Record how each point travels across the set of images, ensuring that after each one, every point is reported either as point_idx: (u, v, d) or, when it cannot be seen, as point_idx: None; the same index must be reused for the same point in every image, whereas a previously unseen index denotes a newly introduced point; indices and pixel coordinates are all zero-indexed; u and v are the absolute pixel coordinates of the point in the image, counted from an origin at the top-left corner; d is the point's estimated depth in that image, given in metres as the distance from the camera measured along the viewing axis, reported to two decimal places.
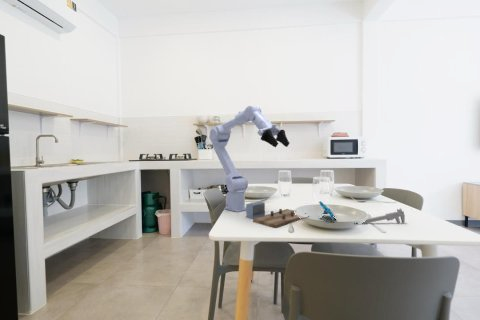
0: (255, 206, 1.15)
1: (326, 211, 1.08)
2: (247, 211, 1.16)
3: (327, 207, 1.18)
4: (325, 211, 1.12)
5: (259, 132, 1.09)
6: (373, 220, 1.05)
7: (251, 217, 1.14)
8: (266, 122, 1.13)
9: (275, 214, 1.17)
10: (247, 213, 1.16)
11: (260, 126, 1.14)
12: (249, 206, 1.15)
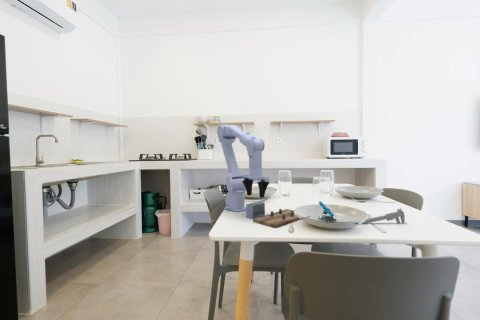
0: (255, 206, 1.15)
1: (325, 211, 1.09)
2: (247, 211, 1.16)
3: (327, 207, 1.18)
4: (325, 211, 1.12)
5: None
6: (373, 220, 1.05)
7: (251, 217, 1.14)
8: (249, 169, 1.16)
9: (275, 214, 1.17)
10: (247, 213, 1.16)
11: None
12: (249, 206, 1.15)
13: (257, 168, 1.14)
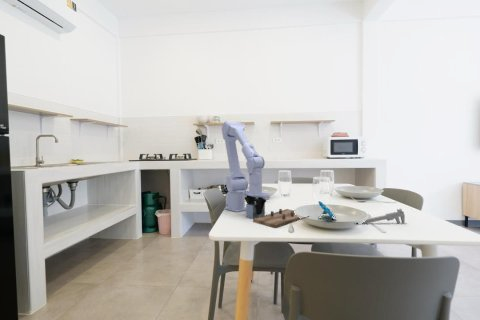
0: (255, 206, 1.15)
1: (325, 211, 1.09)
2: (247, 210, 1.16)
3: (327, 207, 1.18)
4: (324, 211, 1.13)
5: None
6: (373, 220, 1.05)
7: (251, 217, 1.14)
8: (249, 186, 1.17)
9: (275, 214, 1.17)
10: (247, 213, 1.16)
11: None
12: (249, 206, 1.15)
13: (257, 186, 1.15)
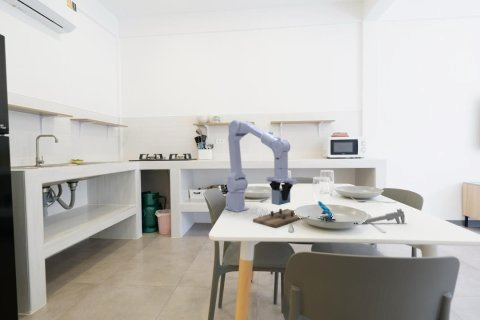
0: (281, 192, 1.10)
1: (324, 211, 1.09)
2: (273, 196, 1.11)
3: (327, 207, 1.18)
4: (324, 211, 1.13)
5: None
6: (373, 220, 1.05)
7: (277, 203, 1.10)
8: (275, 171, 1.12)
9: (275, 214, 1.17)
10: (272, 199, 1.11)
11: None
12: (275, 192, 1.10)
13: (283, 170, 1.10)
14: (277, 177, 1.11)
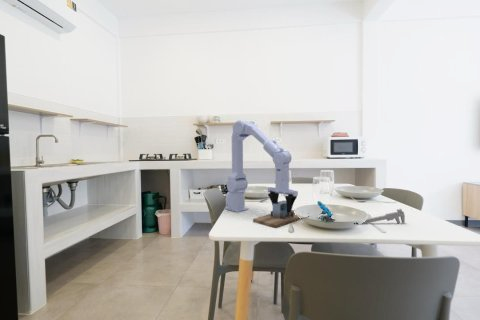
0: (282, 205, 1.10)
1: (323, 211, 1.09)
2: (274, 210, 1.11)
3: (326, 207, 1.18)
4: (323, 211, 1.13)
5: None
6: (373, 220, 1.05)
7: (278, 217, 1.10)
8: (276, 182, 1.12)
9: None
10: (274, 212, 1.12)
11: None
12: (276, 205, 1.11)
13: (284, 182, 1.10)
14: (278, 188, 1.11)
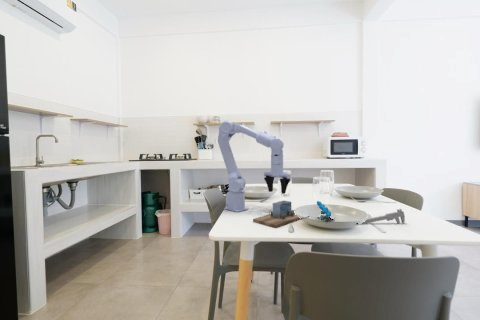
0: (282, 205, 1.10)
1: (322, 211, 1.09)
2: (274, 210, 1.11)
3: (326, 207, 1.18)
4: None
5: None
6: (373, 220, 1.05)
7: (278, 217, 1.10)
8: (271, 167, 1.24)
9: None
10: (274, 212, 1.12)
11: None
12: (276, 205, 1.11)
13: (279, 166, 1.22)
14: (273, 172, 1.23)
